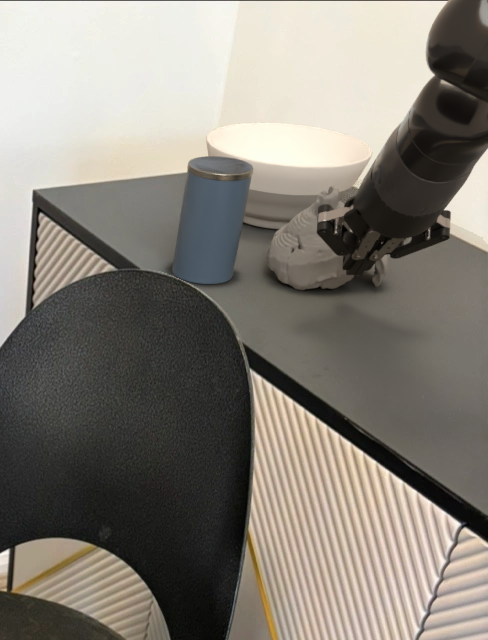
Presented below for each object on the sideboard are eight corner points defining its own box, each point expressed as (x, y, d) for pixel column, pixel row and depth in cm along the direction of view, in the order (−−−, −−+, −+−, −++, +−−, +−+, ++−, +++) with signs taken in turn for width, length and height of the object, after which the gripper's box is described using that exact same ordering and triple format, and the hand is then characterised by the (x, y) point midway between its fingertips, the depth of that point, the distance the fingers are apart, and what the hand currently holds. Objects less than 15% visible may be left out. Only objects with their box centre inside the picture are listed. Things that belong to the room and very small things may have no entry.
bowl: (337, 253, 128) (356, 176, 122) (174, 225, 134) (186, 151, 128) (366, 207, 141) (385, 136, 135) (217, 183, 147) (229, 114, 142)
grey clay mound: (318, 327, 118) (320, 231, 110) (246, 289, 125) (243, 197, 118) (407, 278, 120) (415, 180, 112) (330, 244, 127) (333, 150, 120)
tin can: (209, 259, 125) (227, 153, 118) (245, 279, 121) (267, 170, 114) (159, 267, 123) (175, 159, 116) (194, 287, 119) (213, 177, 111)
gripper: (497, 134, 96) (420, 234, 113) (343, 127, 97) (290, 227, 114) (494, 218, 96) (417, 305, 113) (338, 210, 96) (285, 298, 114)
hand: (353, 266), depth 113 cm, fingers closed
